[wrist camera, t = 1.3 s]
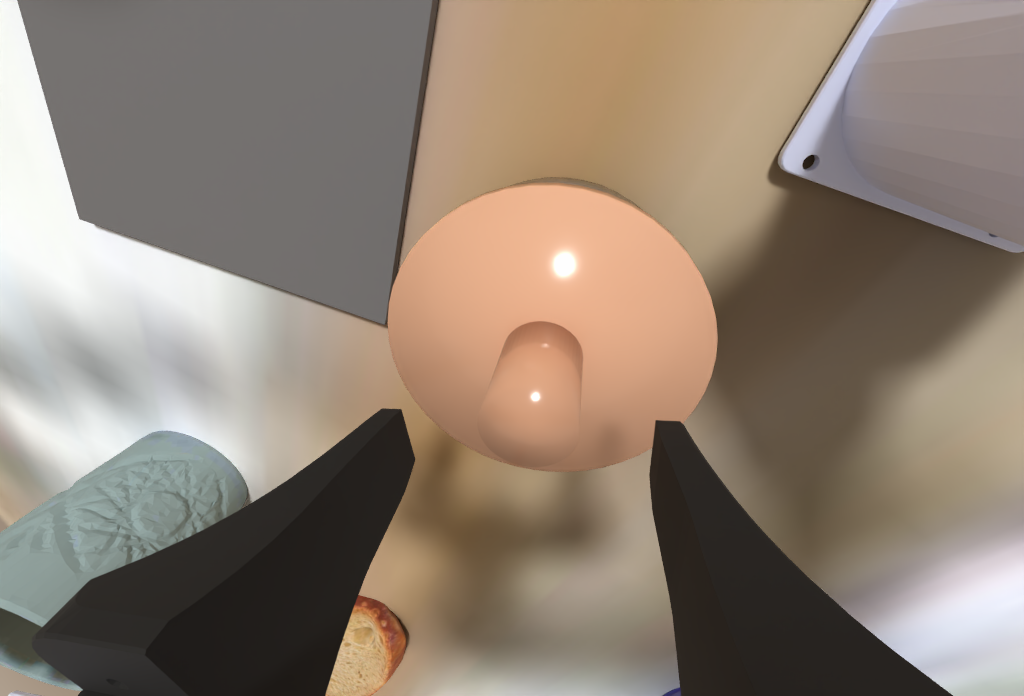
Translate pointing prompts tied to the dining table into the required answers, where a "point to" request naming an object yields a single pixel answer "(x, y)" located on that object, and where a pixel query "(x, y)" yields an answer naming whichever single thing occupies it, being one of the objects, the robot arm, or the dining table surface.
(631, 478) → the dining table surface
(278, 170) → the mat
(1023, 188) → the robot arm
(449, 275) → the lid
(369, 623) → the bread slice
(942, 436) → the dining table surface
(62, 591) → the embossed green pot
